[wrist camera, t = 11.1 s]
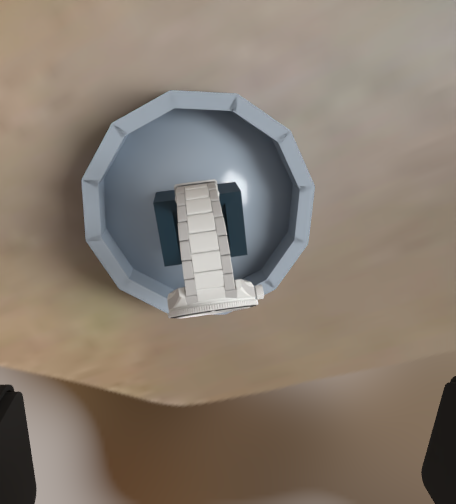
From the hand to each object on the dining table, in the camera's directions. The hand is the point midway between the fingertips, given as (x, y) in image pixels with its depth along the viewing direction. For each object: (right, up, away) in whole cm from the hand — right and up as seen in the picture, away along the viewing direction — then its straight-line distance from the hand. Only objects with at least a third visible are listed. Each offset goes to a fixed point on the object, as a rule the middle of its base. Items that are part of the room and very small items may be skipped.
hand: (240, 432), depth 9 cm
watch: (-2, +6, +21) cm, 22 cm away
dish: (-2, +7, +21) cm, 23 cm away
